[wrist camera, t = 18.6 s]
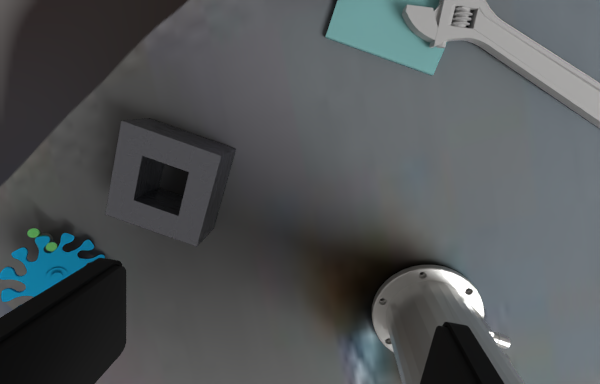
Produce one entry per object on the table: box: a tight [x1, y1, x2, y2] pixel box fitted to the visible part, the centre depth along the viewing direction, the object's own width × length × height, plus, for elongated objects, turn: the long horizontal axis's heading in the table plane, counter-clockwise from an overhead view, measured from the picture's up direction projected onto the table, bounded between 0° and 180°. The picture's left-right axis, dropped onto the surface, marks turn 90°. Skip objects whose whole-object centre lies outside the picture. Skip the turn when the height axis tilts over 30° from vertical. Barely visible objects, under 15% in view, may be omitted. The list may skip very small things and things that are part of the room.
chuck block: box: [105, 118, 236, 247], centre depth 34 cm, size 10×10×5 cm
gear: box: [0, 228, 105, 307], centre depth 39 cm, size 11×6×10 cm
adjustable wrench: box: [402, 0, 600, 128], centre depth 29 cm, size 25×6×2 cm, turn 56°
